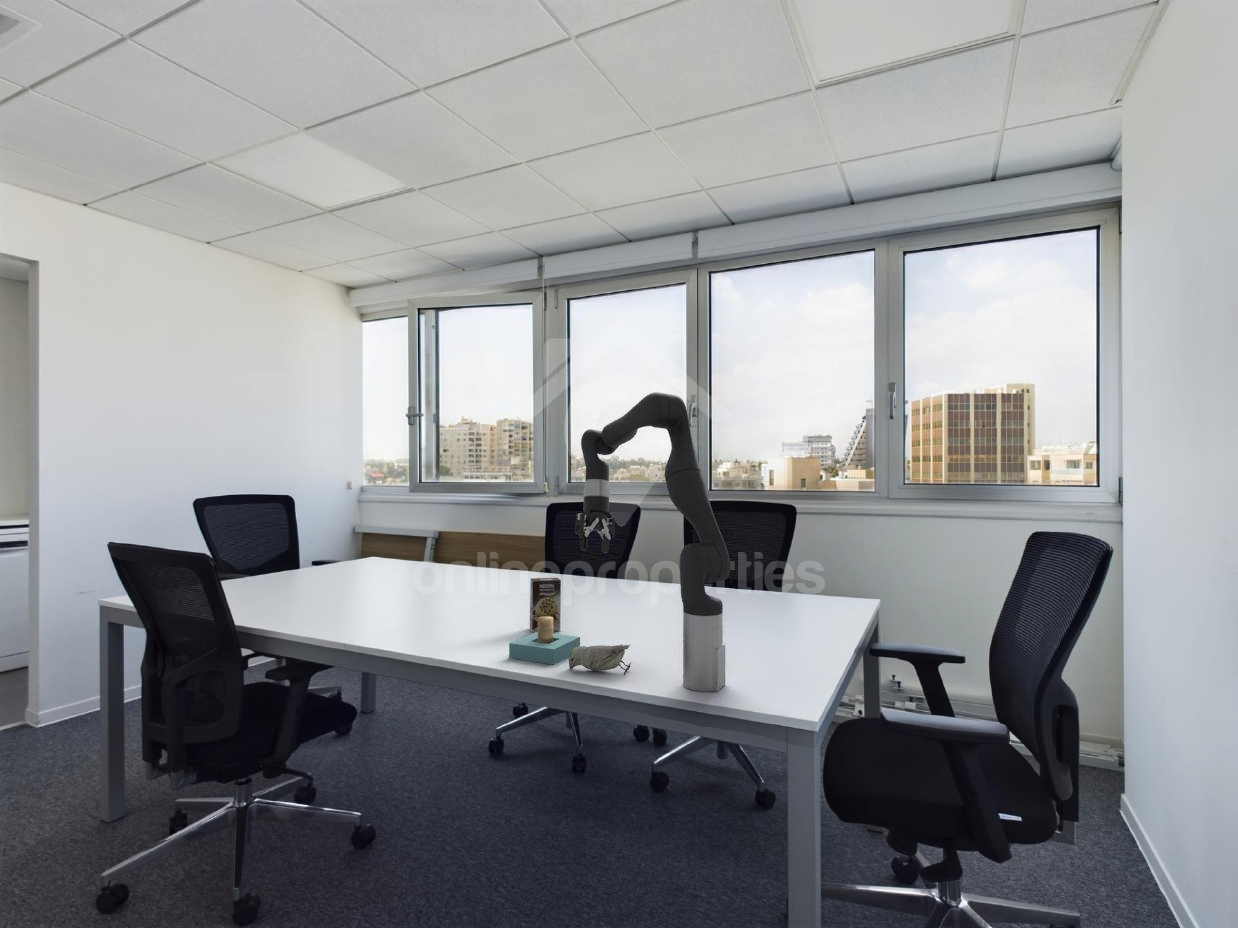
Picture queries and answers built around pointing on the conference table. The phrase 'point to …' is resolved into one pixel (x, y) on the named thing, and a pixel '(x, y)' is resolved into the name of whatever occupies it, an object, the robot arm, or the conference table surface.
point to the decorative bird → (598, 657)
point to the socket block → (543, 648)
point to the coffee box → (545, 601)
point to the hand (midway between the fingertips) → (594, 551)
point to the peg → (545, 629)
